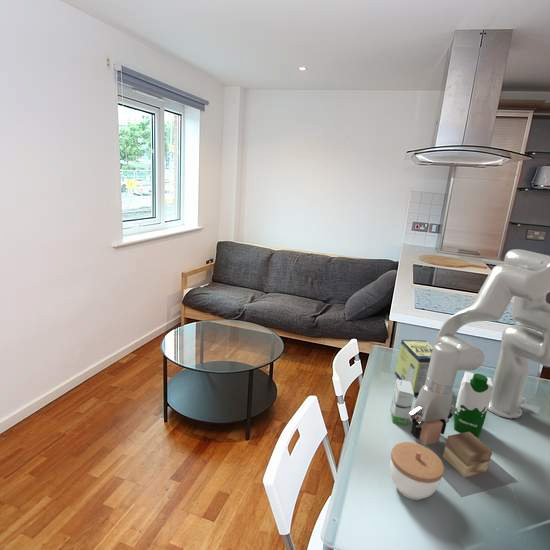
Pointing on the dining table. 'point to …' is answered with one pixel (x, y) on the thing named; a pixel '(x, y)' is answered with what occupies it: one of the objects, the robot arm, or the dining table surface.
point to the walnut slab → (468, 448)
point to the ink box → (401, 402)
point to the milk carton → (472, 403)
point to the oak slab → (461, 466)
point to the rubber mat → (472, 483)
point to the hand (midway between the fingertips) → (427, 433)
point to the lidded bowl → (415, 470)
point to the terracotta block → (430, 431)
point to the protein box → (414, 363)
